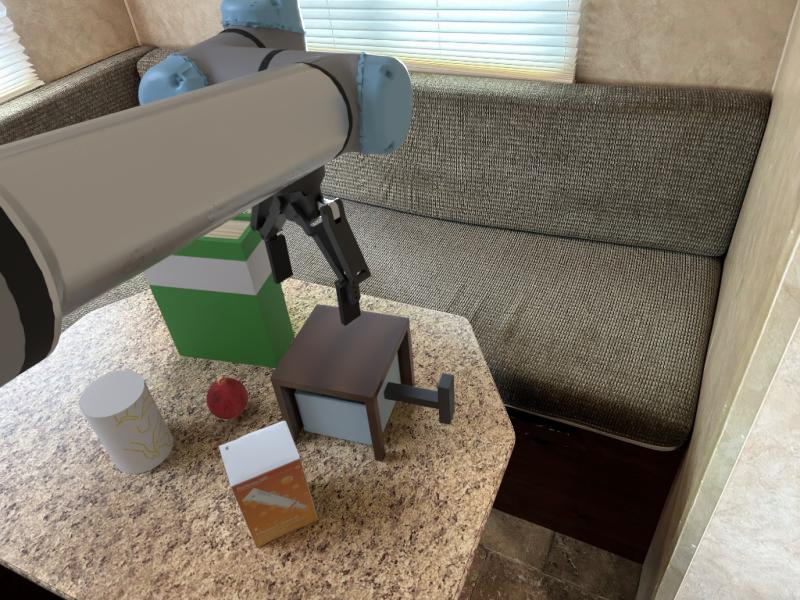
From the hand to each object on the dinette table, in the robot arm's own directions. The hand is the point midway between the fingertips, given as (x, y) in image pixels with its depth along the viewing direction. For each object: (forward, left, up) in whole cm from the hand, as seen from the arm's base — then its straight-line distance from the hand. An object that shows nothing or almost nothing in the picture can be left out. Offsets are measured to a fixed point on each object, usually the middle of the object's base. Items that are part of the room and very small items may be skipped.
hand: (316, 298), depth 80 cm
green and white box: (-17, +12, -19) cm, 28 cm away
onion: (-15, -3, -19) cm, 24 cm away
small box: (-6, -20, -19) cm, 28 cm away
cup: (-27, -8, -19) cm, 34 cm away
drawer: (+7, -5, -18) cm, 20 cm away
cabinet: (+3, -4, -19) cm, 19 cm away
